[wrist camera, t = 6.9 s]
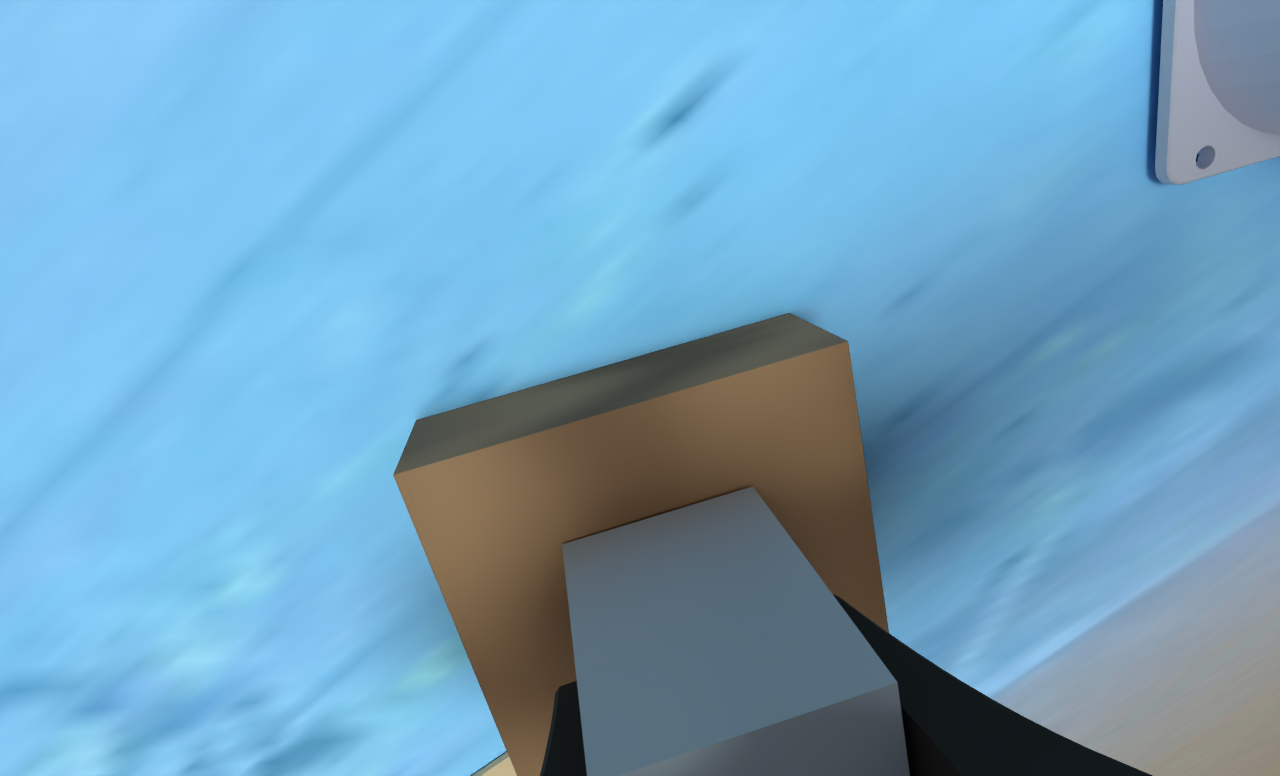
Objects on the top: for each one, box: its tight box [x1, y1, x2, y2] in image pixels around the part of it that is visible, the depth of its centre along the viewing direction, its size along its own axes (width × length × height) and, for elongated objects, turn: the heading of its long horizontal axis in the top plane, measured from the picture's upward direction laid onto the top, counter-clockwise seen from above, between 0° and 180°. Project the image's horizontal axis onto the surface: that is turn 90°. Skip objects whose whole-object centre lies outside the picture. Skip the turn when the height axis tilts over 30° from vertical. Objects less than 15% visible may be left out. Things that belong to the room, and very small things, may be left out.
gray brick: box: [562, 487, 910, 776], centre depth 11 cm, size 4×4×6 cm
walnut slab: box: [393, 313, 889, 776], centre depth 15 cm, size 9×9×3 cm
